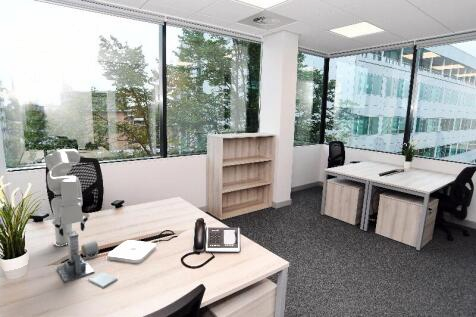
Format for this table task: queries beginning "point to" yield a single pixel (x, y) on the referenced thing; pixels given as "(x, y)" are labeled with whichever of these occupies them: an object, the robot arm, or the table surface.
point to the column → (73, 245)
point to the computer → (132, 251)
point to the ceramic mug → (90, 249)
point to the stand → (74, 269)
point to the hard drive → (102, 279)
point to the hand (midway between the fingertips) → (72, 232)
